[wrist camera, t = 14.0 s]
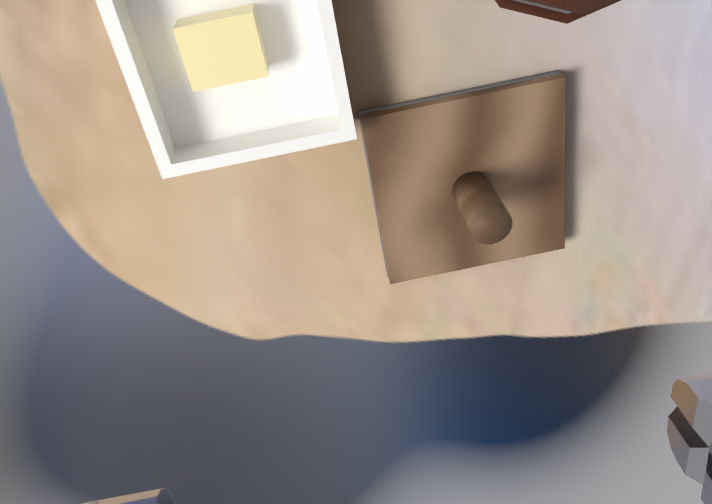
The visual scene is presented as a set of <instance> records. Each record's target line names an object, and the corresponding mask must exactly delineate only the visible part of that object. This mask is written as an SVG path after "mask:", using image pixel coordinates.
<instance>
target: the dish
mask: <svg viewBox="0 0 712 504" xmlns="http://www.w3.org/2000/svg"><path fill="white" fill-rule="evenodd" d="M96 3H97V6H98V8H99V11H100V14H101V16H102V19H103V22H104V24H105V27H106V30H107V32H108V35H109V38H110V40H111V43H112V46H113V48H114V51H115V54H116V56H117V59H118V62H119V64H120V67H121V70H122V72H123V75H124V78H125V80H126V83H127V86H128V88H129V91H130V94H131V96H132V99H133V102H134V104H135V107H136V110H137V112H138V115H139V118H140V120H141V123H142V126H143V128H144V131H145V134H146V136H147V139H148V142H149V144H150V147H151V150H152V152H153V155H154V158H155V160H156V163H157V166H158V168H159V171H160V174H161V176H162V179H165V178H170V177H175V176H180V175H185V174H189V173H194V172H199V171H204V170H209V169H214V168H219V167H223V166H228V165H233V164H238V163H243V162H248V161H252V160H257V159H262V158H267V157H272V156H277V155H282V154H286V153H291V152H296V151H301V150H306V149H311V148H316V147H320V146H325V145H330V144H335V143H340V142H345V141H350V140H354V139H357V137H356V131H355V126H354V120H353V115H352V109H351V104H350V99H349V93H348V88H347V82H346V77H345V71H344V66H343V60H342V55H341V50H340V44H339V39H338V33H337V28H336V22H335V17H334V11H333V6H332V1H331V0H96Z"/></svg>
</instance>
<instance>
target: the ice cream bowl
mask: <svg viewBox="0 0 712 504" xmlns="http://www.w3.org/2000/svg"><path fill="white" fill-rule="evenodd" d="M495 1H496V2H497V4H498V5H499V7H501V8H505V9H509V10H513V11H517V12H521V13H526V14H530V15H534V16H538V17H542V18H546V19H550V20H554V21H559V22H563V23H570V22H572V21H574V20H577V19H579V18H581V17H584V16H586V15H588V14H591V13H593V12H595V11H597V10H600V9H602V8H604V7H607V6H609V5H611V4H614V3H616V2H618V1H621V0H495Z"/></svg>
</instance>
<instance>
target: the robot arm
mask: <svg viewBox="0 0 712 504" xmlns="http://www.w3.org/2000/svg"><path fill="white" fill-rule="evenodd" d="M671 398H672V399H673V400H674V402H675V403H676V405H677V407H676V408H675V409H674V411H673V412H672V413H671V414H670V415H669V416H668V426H667V433H668V437H669V442H670V446H671V449H672V451H673V454H674V456H675V458H676V460H677V462H678V464H679V465H680V467H681V468H682V470H683V472H684V473H685V474H686V475H687V476H689V477H691V478H692V479H694V480H696V481H698V482H700V483H701V484H703V488H702V495H701V500H702V501H703V503H704V504H712V372H708V373H703V374H699V375H695V376H690V377H685V378H681V379H677V380H676V382H675V383H674V384H673V386H672V393H671ZM82 504H174V499H173V498H172V496H171V494H170V493H169V491H168V489H167V488H163V489H157V490H152V491H146V492H140V493H135V494H130V495H124V496H118V497H113V498H107V499H102V500H98V501H93V502H88V503H82Z"/></svg>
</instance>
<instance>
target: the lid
mask: <svg viewBox="0 0 712 504" xmlns="http://www.w3.org/2000/svg"><path fill="white" fill-rule="evenodd" d="M565 88H566V77H565V76H564V75H562V74H561V73H559V74H555V75H550V76H545V77H540V78H535V79H530V80H525V81H521V82H516V83H511V84H506V85H501V86H496V87H492V88H487V89H482V90H477V91H472V92H467V93H462V94H458V95H453V96H448V97H443V98H438V99H433V100H428V101H424V102H419V103H414V104H409V105H404V106H399V107H395V108H390V109H385V110H380V111H375V112H370V113H365V114H361V115H360V118H361V124H362V130H363V135H364V141H365V146H366V152H367V158H368V163H369V169H370V175H371V180H372V186H373V191H374V197H375V203H376V208H377V214H378V220H379V225H380V231H381V236H382V242H383V248H384V253H385V259H386V265H387V270H388V276H389V280H390V284H393V283H398V282H403V281H408V280H413V279H417V278H422V277H427V276H432V275H437V274H442V273H447V272H451V271H456V270H461V269H466V268H471V267H476V266H480V265H485V264H490V263H495V262H500V261H505V260H510V259H514V258H519V257H524V256H529V255H534V254H539V253H544V252H548V251H553V250H558V249H563V248H565Z"/></svg>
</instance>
